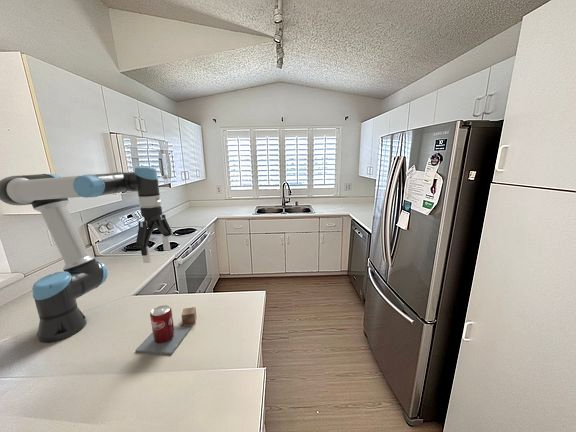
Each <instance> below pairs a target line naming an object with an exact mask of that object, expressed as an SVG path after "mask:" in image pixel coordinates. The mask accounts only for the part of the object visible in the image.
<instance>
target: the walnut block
mask: <svg viewBox="0 0 576 432" xmlns="http://www.w3.org/2000/svg"><path fill="white" fill-rule="evenodd" d="M196 308H197V307H196V306H194V307H193V306H192V307H186V308H183V309H182V312H181V322H182V327H186V326H189V325H190V326H191V325H196V322H197V309H196Z"/></svg>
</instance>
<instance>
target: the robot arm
mask: <svg viewBox="0 0 576 432" xmlns="http://www.w3.org/2000/svg"><path fill="white" fill-rule="evenodd" d="M159 188H160V187H159V177H158V173H157V168H155V167H154V166H143V167H140V166H139V167H138V166H137V167H135V168H134V171H133V172H121V171H120V172H119V171H118V172H111V173H99V174H96V173H95V174H91V173H90V174H84V175H83V174H82V175H72V176H71V175H70V176H60V175H57V174H54V173H42V174H41V173H39V174H28V175H27V174H26V175H25V174H24V175H11V176H7V177H5V178H1V179H0V201H1V202H3V203H5V204H7V205H10V206H29V205H31V206H32V209H33V210H34V211H36V212H40V214H41V216H42V218H43V219H44V222H45V224H46V226H47V228H48V231H49V232H50V235H51V236H52V238H53V241H54V242H55V245H56V247H57V249H58V251H59V253H60V255H61V258H62V260H63V262H64V266H63V268H62V270H63V271H58V272H54V273H50V274H47V275H45V276H43V277H41V278H39V279H38V280H36V281H35V282H34V283H33V285H32V290H31V291H32V297H33V299H34V303H35V306H36V310H37V314H38V318H39V322H38V323H39V324H38V330H37V334H36V336H37V340H38V341H39V342H41V343H52V342H53V343H54V342H57V341H60V340H63V339H64V340H65V339H67V338H69V337H71V336H74V335H76V334H78V333H79V331H81V330H82V329H84V328H85V327H86V325H87V318H86V316H85V314H84V313H83V312H82V311H81V310H80V308H79V307H78V303H77V302H78V301H77V299H78V298H80V297H82V296H83V295H85V294H87V293H89V292H91V291H93V290H95V289H97V288H98V287H100V286H101V285H103V284H104V283H105V282H106V280H107V279H108V275H109V272H108V268H107V266H106V265H105V263H104V262H102V261H101V260H97V259H96V257H94V256H92V255H90V254H89V252H88V250H87V248H86V246H85V244H84V241H83V240H82V238H81V235H80V233H79V231H78V229H77V227H76V224H75V222H74V220H73V217H72V215H71V213H70V211H69V209H68V207H67V205H68V203H70V202H69V201H70V200H69V199H70V198H71V199H73V198H87V199H88V198H96V197H101V196H106V195H107V196H108V195H113V194H121V193H125V192H126V193H127V192H137V195H138V196H137V197H138V203H139V204H138V205H139V206H140V215H141V217H142V218H144V220H142V221H138V230H137V235H136V241H135V248H140V253H141V257H142V262H143V263H144V264H151V263H152V259H151V253H150V246H148V245H149V242H150V238H151V235H152V233H153V231H155V229H157V230H158V231H159V232H160V234H161V235H162V236H161V239H162V246H163V251H165V252H166V251H168V252H171V244H170V236H171V235H172V232H173V231H172V228H171V227H170V224H169V223H168V221H167V217H166V214H163V208H162V206H161V205H162V202H161V195H160V189H159Z"/></svg>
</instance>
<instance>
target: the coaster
mask: <svg viewBox="0 0 576 432" xmlns="http://www.w3.org/2000/svg"><path fill="white" fill-rule="evenodd" d="M191 328H192V327H189V326H188V327H187V326H174V332H175V335H174V337H173V338H172V339H171V340H170V341H169V342H166V343H163V344H158V343H156V342H155V341H154V337H153V331H152V332H151V333H150V334H149V335H148V336H147V337H146V338H145V339H144V340H143V341H142V342H141V344H139V346H138V347H136V349H135V350H134V351H135V353H143V354H144V353H145V354H155V355H156V354H159V355H168V356H169V355H173V354H174V352H175V351H176V350H177V348H178V347H179V346H180V344H181V343H182V342H183V340H184V339H185V338H186V336H187V335H188V334H189V332H190V331H191Z"/></svg>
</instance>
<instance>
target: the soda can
mask: <svg viewBox="0 0 576 432" xmlns="http://www.w3.org/2000/svg"><path fill="white" fill-rule="evenodd" d="M149 317H150V318H149V319H150V324H151V329H152V332H153V337H154V341H155V342H156V343H158V344H163V343H166V342H169V341H170V340H171V339H172V338H173V337H174V335H175V332H174V318H173V310H172V307H171V306H169V305H167V304H166V305H165V304H162V305H159V306H156V307H155V308H153V309H152V310H151V311H150V312H149Z"/></svg>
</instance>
